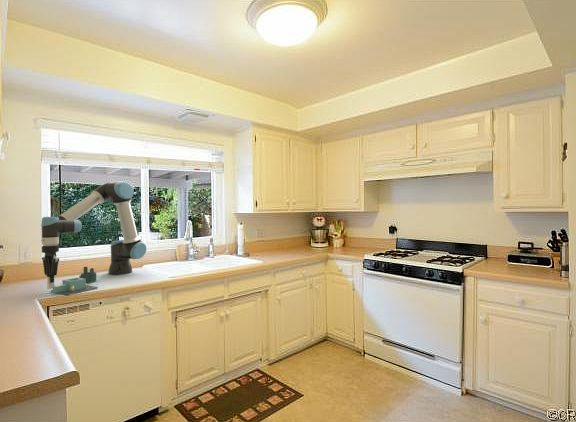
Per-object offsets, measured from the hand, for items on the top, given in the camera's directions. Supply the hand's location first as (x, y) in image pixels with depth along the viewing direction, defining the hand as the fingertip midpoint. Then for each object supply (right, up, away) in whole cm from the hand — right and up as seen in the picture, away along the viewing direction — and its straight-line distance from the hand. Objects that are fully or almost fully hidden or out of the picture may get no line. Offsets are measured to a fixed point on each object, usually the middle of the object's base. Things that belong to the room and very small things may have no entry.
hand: (50, 288), depth 175 cm
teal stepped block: (+9, -1, +1) cm, 9 cm away
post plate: (+11, -2, +3) cm, 11 cm away
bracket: (+5, -2, +25) cm, 25 cm away
